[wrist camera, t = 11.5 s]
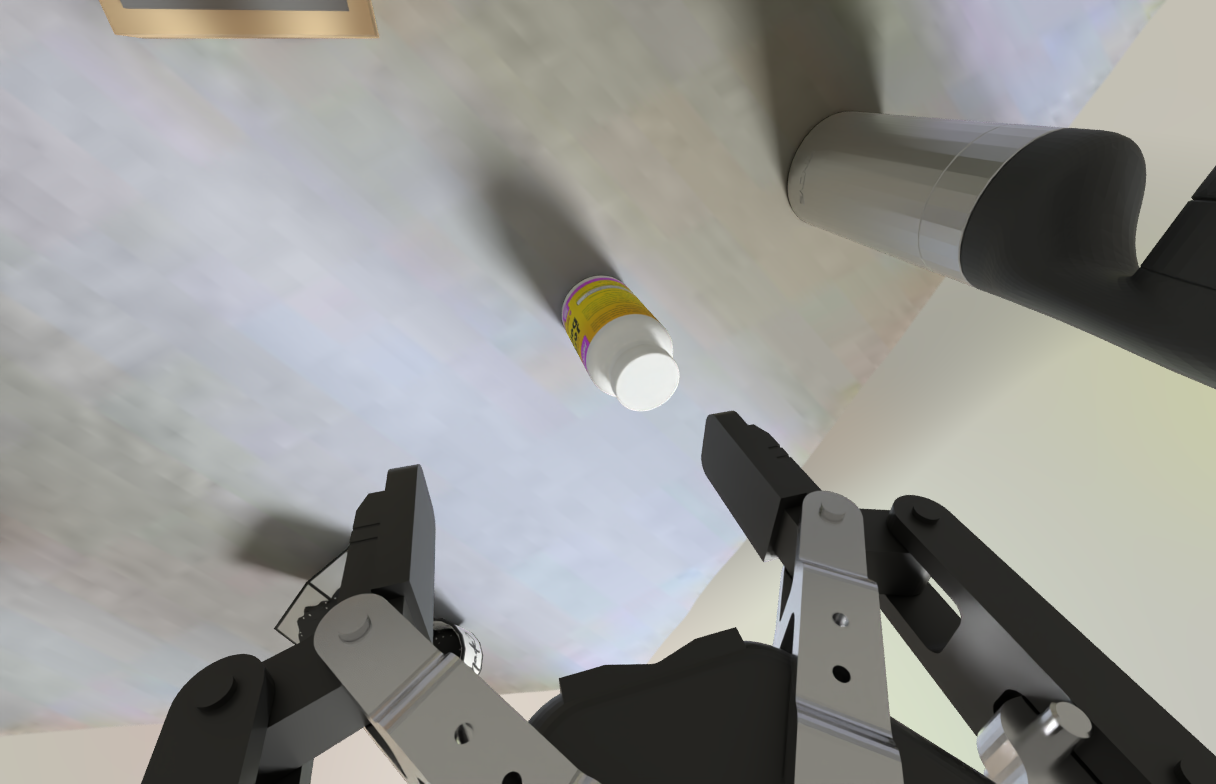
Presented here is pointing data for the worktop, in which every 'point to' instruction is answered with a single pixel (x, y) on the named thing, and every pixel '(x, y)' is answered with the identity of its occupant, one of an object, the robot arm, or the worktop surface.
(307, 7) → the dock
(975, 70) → the worktop surface
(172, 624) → the worktop surface
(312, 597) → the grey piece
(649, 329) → the supplement bottle
